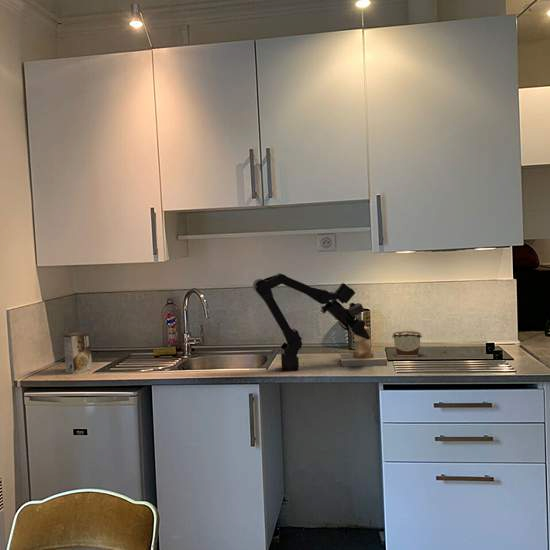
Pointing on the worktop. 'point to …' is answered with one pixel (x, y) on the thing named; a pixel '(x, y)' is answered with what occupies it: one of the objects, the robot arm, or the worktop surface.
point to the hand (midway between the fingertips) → (365, 336)
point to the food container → (407, 342)
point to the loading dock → (363, 360)
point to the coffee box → (77, 352)
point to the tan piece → (363, 346)
